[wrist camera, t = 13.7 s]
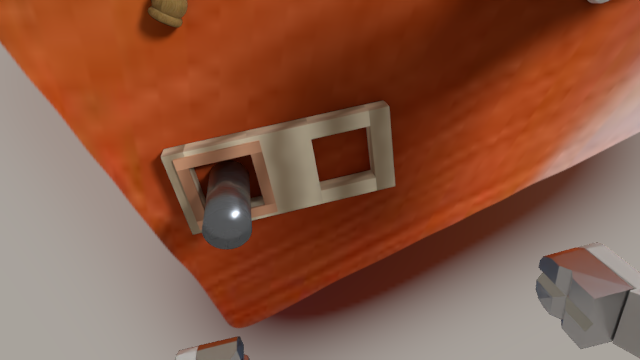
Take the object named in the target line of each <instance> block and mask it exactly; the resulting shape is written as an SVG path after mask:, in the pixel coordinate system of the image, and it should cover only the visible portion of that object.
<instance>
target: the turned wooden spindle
mask: <svg viewBox="0 0 640 360" xmlns="http://www.w3.org/2000/svg"><path fill="white" fill-rule="evenodd" d="M151 2H152V6H151V7H149V8H148V13H149V15H150V16H151V17H152V18H154V19H156V20H157V21H159V22H162V23H164V24H166V25H169V26H172V27H180V26H181V25H182V19H181V18H182V17H183V16H184V14H185V13H186V11H187V0H151Z"/></svg>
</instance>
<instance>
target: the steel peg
mask: <svg viewBox="0 0 640 360" xmlns="http://www.w3.org/2000/svg"><path fill="white" fill-rule="evenodd" d="M202 233H203V236H204V238H205V240H206V241H207V242H208V243H209V244H210V245H212V246H214V247H216V248H220V249H233V248H237V247H239V246H241V245H243V244H244V243H245V242H247V240H248V239H249V238H250V236H251V233H252V219H251V200H250V180H249V173H248V170H247V169H246V167H245V166H244V165H242V164H241V163H239V162H237V161H233V160H225V161H221V162H219V163H217V164H216V165H215V166H214V167H213V168H212V169H211V171H210V174H209V181H208V188H207V196H206V203H205V210H204V218H203V225H202Z"/></svg>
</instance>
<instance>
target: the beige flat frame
mask: <svg viewBox="0 0 640 360" xmlns="http://www.w3.org/2000/svg"><path fill="white" fill-rule="evenodd" d="M364 127H366V132H367V141H368V150H369V159H370V168H371V170H368V171H364V172H360V173H356V174H351V175H347V176H343V177H339V178H334V179H330V180H326V181H322V182H319V178H318V173H317V167H316V162H315V157H314V152H313V146H312V141H311V139H315V138H320V137H324V136H329V135H333V134H337V133H342V132H346V131H351V130H355V129H359V128H364ZM250 154H251V157H252V161H253V164H254V168H255V171H256V175H257V178H258V182H259V186H260V189H261V193H262V196H258V197H254V198H250V200H251V219H252V220H256V219H261V218H265V217H269V216H273V215H277V214H281V213H286V212H290V211H294V210H298V209H302V208H306V207H310V206H315V205H319V204H323V203H327V202H331V201H335V200H340V199H344V198H348V197H352V196H356V195H360V194H365V193H369V192H373V191H377V190H381V189H385V188H390V187H394V186H395V174H394V161H393V148H392V135H391V121H390V108H389V105H388V104H387V103H386V102H385V101H384V100H382V101H378V102H373V103H369V104H364V105H360V106H355V107H351V108H346V109H342V110H337V111H333V112H328V113H324V114H319V115H315V116H310V117H306V118H301V119H297V120H292V121H288V122H283V123H279V124H274V125H270V126H265V127H261V128H256V129H252V130H247V131H243V132H238V133H234V134H229V135H225V136H220V137H216V138H211V139H207V140H202V141H198V142H193V143H189V144H184V145H180V146H175V147H171V148H166V149H164V150H163V152H162V155H161V160H162V162H163V164H164V167H165V169H166V172H167V174H168V176H169V179H170V181H171V184H172V186H173V188H174V191H175V193H176V196H177V198H178V201H179V203H180V205H181V208H182V210H183V213H184V215H185V217H186V220H187V222H188V225H189V227H190V229H191V232H192V234H193V235H194V234H198V233H202V225H203V218H204V210H205V203H206V199H205V196H204V194H203V191H202V188H201V185H200V183H199V180H198V177H197V175H196V172H195V169H194V167H197V166H202V165H206V164H211V163H215V162H219V161H224V160H228V159H233V158H237V157H241V156H246V155H250Z"/></svg>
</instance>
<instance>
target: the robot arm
mask: <svg viewBox="0 0 640 360" xmlns="http://www.w3.org/2000/svg"><path fill="white" fill-rule="evenodd" d="M588 1H589V2H590V3H593V4H595V3H604V2H607V1H609V0H588ZM539 268H540V270H542V272H543V273H542V274H541V275H540V276H539V278H538V279H537V281H536V292H537V295H538V299H539V300H540V302H541V304H542V305H543V307H544V308H545V309H546V311H547V312H548V313H549V314H550V315H552V316H555V317H557V318H559V319H561V325H562V329H563V330H564V331H565V332H566V333H567V334H568V335H569V337H570V338H571V339H572V340H573V341H574V342H575V343H576V344H577V346H578V347H579V348H580V349H583V348H587V347H591V346H595V345H599V344H603V343H608V342H612V341H613V344H615V345H617V346H619V347H620V348H622V349H624V350H626V351H628V352H630V353H631V354H633V355H635V356H637V357H639V358H640V272H639V271H638V270H636V269H635V268H634V267H632V266H631V265H630V264H628V263H627V262H626V261H625V260H623V259H622V258H621V257H619V256H618V255H617V254H616V253H614V252H613V251H612V250H610V249H609V248H608V247H606V246H605V245H603V244H601V243H598V242H596V243H592V244H589V245H585V246H581V247H578V248H573V249H569V250H565V251H561V252H558V253H554V254H551V255H547V256H543V258H542V259H541V260H540V263H539ZM175 360H250V359H249V357H248V356H247V355H245V354H244V345H243V342H242V340H241V338H240V337H234V338H230V339H225V340H221V341H216V342H212V343H208V344H204V345H199V346H196V347H192V348H187V349H184V350H179V352H178V353H177V356H176V358H175Z"/></svg>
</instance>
